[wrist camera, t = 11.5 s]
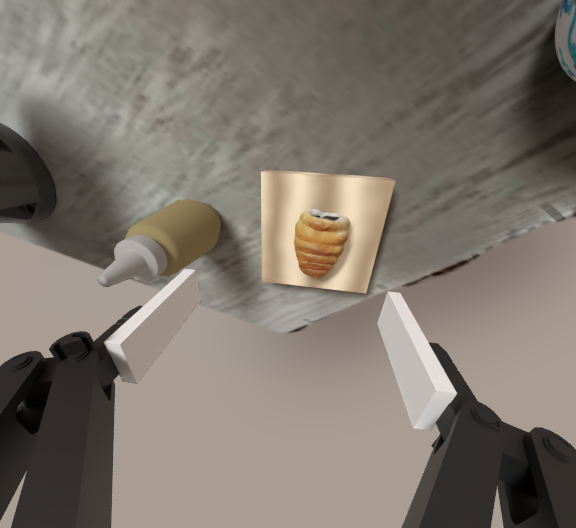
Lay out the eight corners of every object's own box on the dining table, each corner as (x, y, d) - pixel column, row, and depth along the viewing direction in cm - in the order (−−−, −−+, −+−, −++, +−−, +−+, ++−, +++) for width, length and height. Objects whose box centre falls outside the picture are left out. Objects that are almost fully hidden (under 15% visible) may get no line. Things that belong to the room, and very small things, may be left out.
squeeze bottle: (174, 229, 36) (57, 292, 20) (186, 183, 32) (55, 216, 16) (219, 253, 37) (141, 331, 21) (236, 211, 33) (157, 268, 17)
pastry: (335, 275, 32) (336, 290, 29) (290, 267, 33) (286, 281, 29) (351, 213, 28) (355, 221, 24) (299, 205, 28) (295, 212, 25)
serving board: (266, 272, 37) (262, 281, 34) (266, 169, 30) (261, 171, 27) (362, 282, 36) (366, 293, 33) (388, 177, 28) (395, 180, 25)
